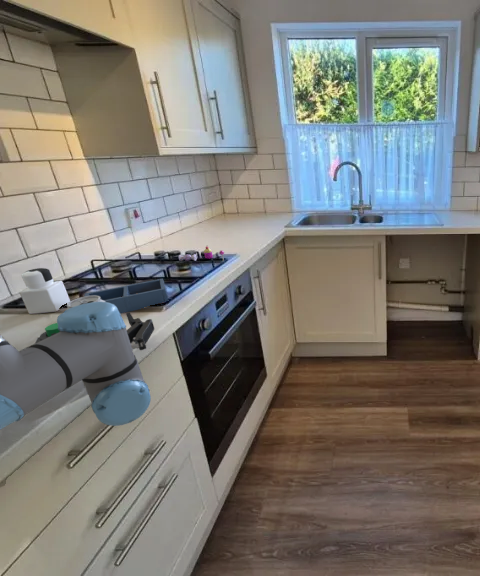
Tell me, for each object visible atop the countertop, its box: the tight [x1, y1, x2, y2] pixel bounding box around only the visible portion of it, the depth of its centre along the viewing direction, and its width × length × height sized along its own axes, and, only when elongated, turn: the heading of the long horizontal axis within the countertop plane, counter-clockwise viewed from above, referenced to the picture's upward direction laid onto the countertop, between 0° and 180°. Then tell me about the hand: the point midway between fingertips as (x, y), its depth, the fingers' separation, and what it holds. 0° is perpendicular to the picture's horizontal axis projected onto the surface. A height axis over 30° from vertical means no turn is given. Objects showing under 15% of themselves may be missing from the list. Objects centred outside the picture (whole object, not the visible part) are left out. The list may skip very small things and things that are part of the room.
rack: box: [83, 278, 170, 314], centre depth 107 cm, size 20×10×5 cm, turn 123°
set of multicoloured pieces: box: [178, 246, 225, 262], centre depth 145 cm, size 18×8×6 cm, turn 98°
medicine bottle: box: [18, 267, 71, 315], centre depth 105 cm, size 7×7×12 cm
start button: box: [44, 322, 60, 337], centre depth 87 cm, size 4×4×2 cm
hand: (94, 327), depth 82 cm, fingers open, 13 cm apart
